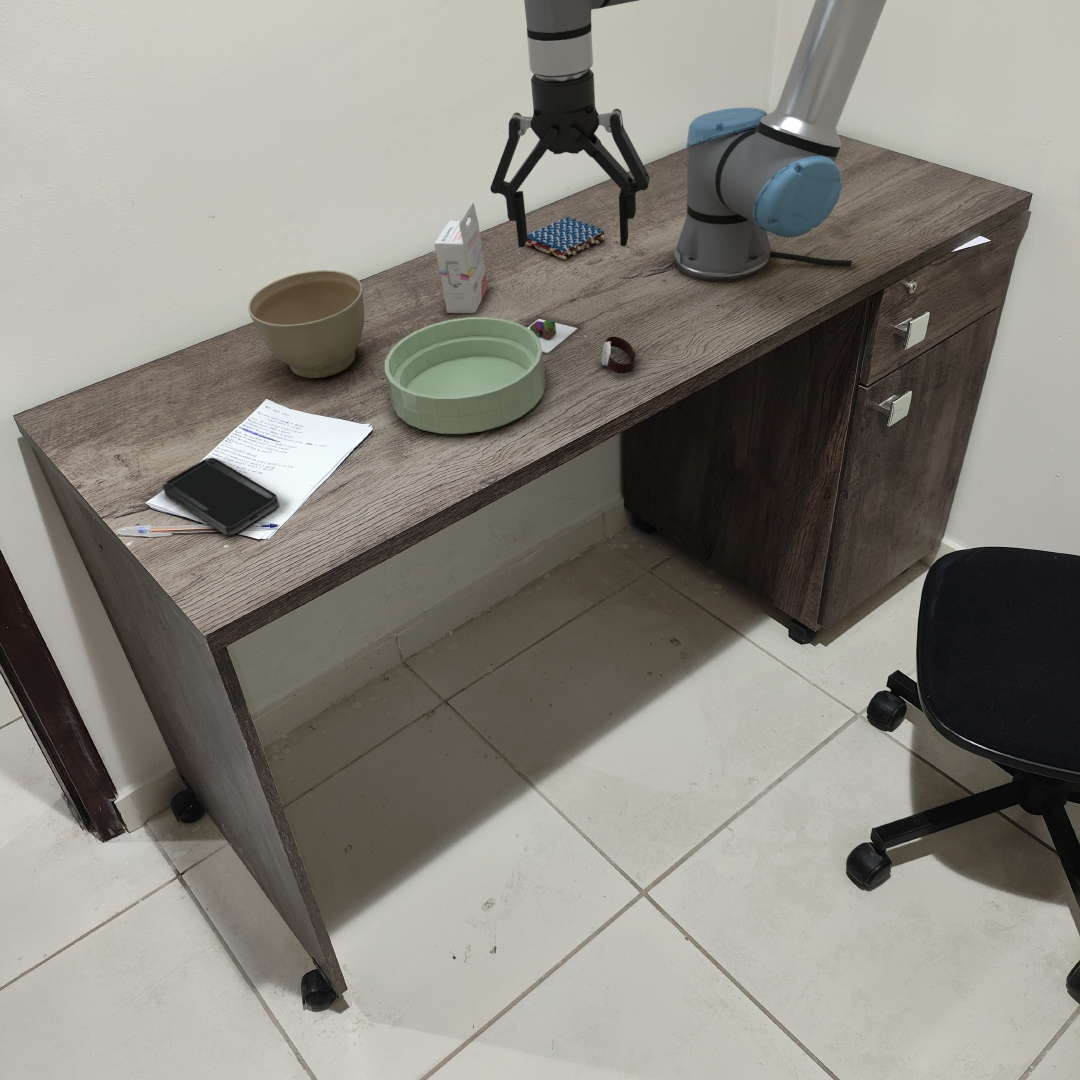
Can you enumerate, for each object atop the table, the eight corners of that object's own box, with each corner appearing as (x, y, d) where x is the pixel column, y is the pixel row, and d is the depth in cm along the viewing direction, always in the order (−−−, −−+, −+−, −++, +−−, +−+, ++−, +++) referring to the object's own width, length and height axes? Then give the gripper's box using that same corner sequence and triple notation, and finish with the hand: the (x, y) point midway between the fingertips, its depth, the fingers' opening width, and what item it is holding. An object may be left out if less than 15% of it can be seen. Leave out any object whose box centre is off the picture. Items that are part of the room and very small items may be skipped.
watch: (599, 351, 140) (597, 329, 137) (631, 348, 140) (630, 325, 137) (605, 379, 134) (604, 356, 131) (639, 375, 134) (638, 352, 131)
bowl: (555, 354, 140) (552, 316, 136) (532, 438, 125) (528, 399, 121) (414, 354, 144) (407, 317, 140) (374, 436, 128) (365, 397, 124)
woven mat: (522, 246, 169) (521, 234, 168) (566, 225, 174) (565, 214, 173) (562, 262, 163) (561, 250, 162) (607, 240, 168) (607, 229, 167)
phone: (211, 455, 126) (280, 497, 118) (213, 462, 127) (282, 504, 118) (158, 486, 122) (226, 531, 114) (161, 493, 123) (229, 538, 114)
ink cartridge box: (459, 288, 159) (445, 200, 149) (488, 289, 158) (476, 200, 148) (445, 314, 153) (429, 223, 143) (475, 314, 152) (462, 223, 142)
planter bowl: (249, 365, 146) (228, 299, 139) (341, 325, 153) (325, 260, 146) (302, 405, 136) (282, 336, 129) (397, 360, 143) (383, 292, 136)
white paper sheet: (577, 328, 145) (576, 312, 144) (547, 353, 141) (546, 337, 139) (538, 318, 149) (537, 303, 147) (508, 342, 144) (506, 327, 142)
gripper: (669, 57, 116) (669, 229, 130) (467, 67, 120) (487, 231, 134) (665, 76, 110) (665, 253, 124) (453, 85, 115) (476, 255, 129)
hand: (573, 242), depth 129 cm, fingers open, 13 cm apart
